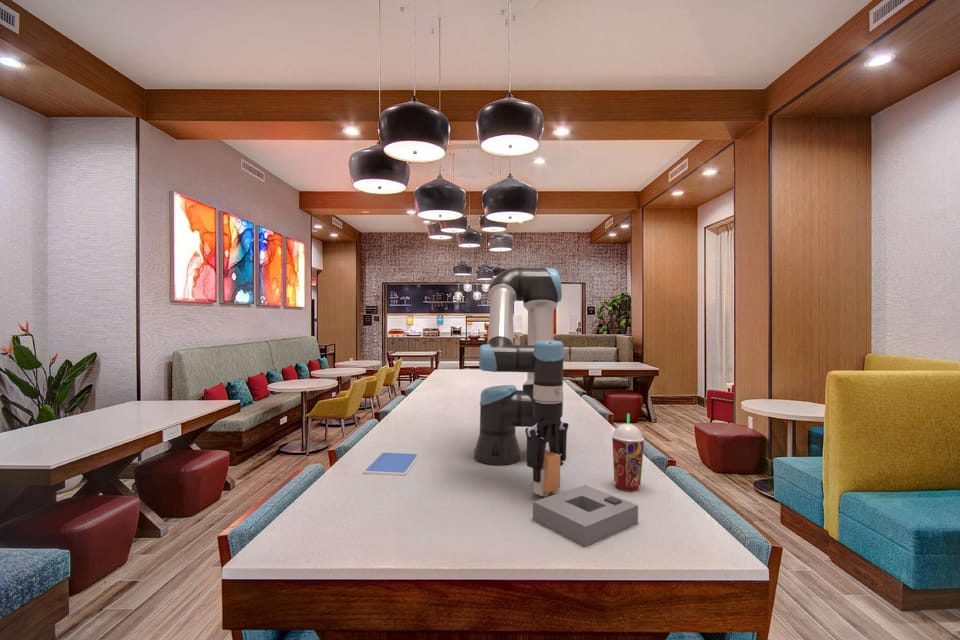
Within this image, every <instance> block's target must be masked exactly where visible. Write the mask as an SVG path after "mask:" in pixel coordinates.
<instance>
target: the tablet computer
mask: <svg viewBox="0 0 960 640" xmlns="http://www.w3.org/2000/svg"><path fill="white" fill-rule="evenodd" d="M419 457H420V454H417V453H403V452H402V453H401V452H399V453H398V452H397V453H396V452H381V453H380V455H378V456H377V457H376V458H375V460H374V461H372V462H371V464H369V465H368V466H367V467H366V468H365V469H364V470H363V474H365V475H378V476H380V475H381V476H400V477H401V476H405V475H407V473H408V472H409V471H410V470H411V468H412V467H413V465H414V464H415V463H416V461H417V460H418V458H419Z"/></svg>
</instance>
